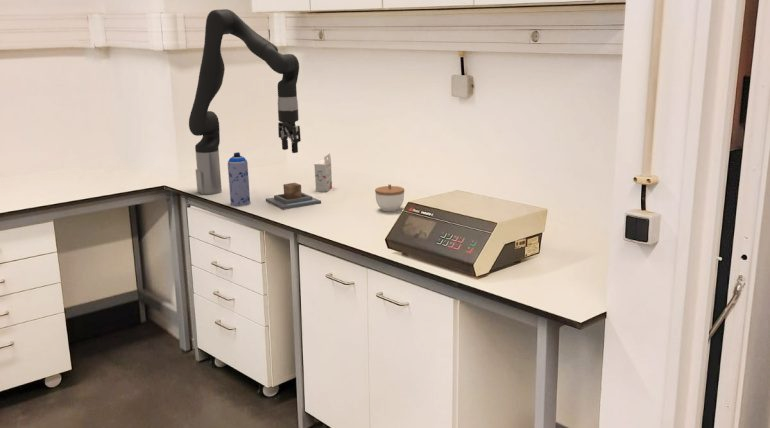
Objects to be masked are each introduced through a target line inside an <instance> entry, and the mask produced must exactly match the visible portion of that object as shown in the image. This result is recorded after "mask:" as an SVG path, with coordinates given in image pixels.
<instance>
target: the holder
mask: <svg viewBox="0 0 770 428" xmlns="http://www.w3.org/2000/svg"><path fill="white" fill-rule="evenodd" d="M301 195H302V198H296V199H290V200H287V199H284V193H280V194H275V195H273V197H268V198H265V202H267V203H269V204H271V205H273V206H274V207H278V208H279V209H282V210H289V209H294V208H295V209H296V208H300V207H308V206H311V205H318V204H322V200H321V199H318V198H315V197H313V196H312V195H309V194H306V193H304V192H302V191H301Z"/></svg>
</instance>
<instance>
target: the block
mask: <svg viewBox="0 0 770 428" xmlns="http://www.w3.org/2000/svg"><path fill="white" fill-rule="evenodd" d="M282 186H283V194H284V199H287V200H290V199H296V198H302V195H301V192H302V184H300V183H297V182H289V183H284V184H283V185H282Z"/></svg>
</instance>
